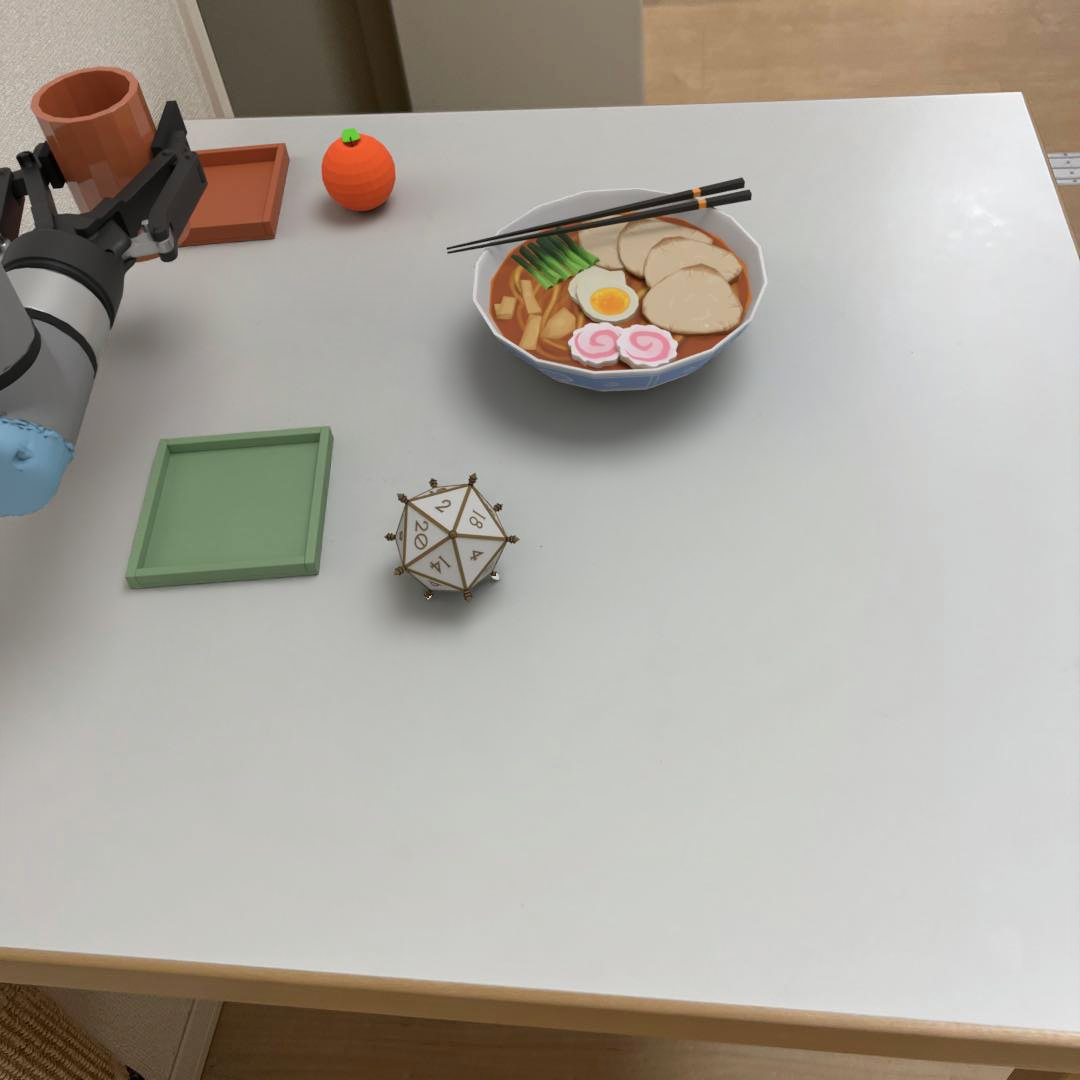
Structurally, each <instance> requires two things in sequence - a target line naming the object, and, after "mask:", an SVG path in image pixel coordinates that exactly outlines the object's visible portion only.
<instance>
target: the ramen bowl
mask: <svg viewBox="0 0 1080 1080" xmlns="http://www.w3.org/2000/svg"><path fill="white" fill-rule="evenodd" d="M745 186H746V180H745V179H744V178H743V177H742V176H741V177H738V178H737V177H736V178H733V179H729V180H725V181H721V182H716V183H714V184H709V185H704V186H700V187H697V188H695V189H694V188H691V189H688V190H683V191H678V192H669V191H663V190H658V189H651V188H645V187H641V186H636V187H622V188H621V187H619V188H603V189H587V190H582V191H577V192H575V193H573V194H569V195H566V196H563V197H560V198H559V197H558V198H556V199H553V200H549V201H547V202H544V203H541V204H538V205H535V206H534V207H532V208H530V209H529V210H527V211H526V212H524V213H523V214H521V215H520V216H518V217H517V218H515V219H513V220H512V221H510V222H509V223H507V224H506V225H504V226H502V227H501V228H500V229H497V231H496V232H495V234H494V235H493V236H490V237H485V238H482V239H477V240H472V241H468V242H464V243H461V244H456V245H452V246H447V247H446V250H447V253H446V254H447V255H449V254H450V255H451V254H456V253H460V252H467V251H473V250H478V249H483V248H485V249H484V250H483V251H482V252H481V255H480V256H479V258H478V259H477V260H476V262H475V264H474V275H473V289H472V301H473V303H474V304H475V306H476V308H477V309H478V311H479V313H480V314H481V316H482V317H483V320H484V321H485V323H486V324H487V326H488V327H489V330H490V331H491V332H492V334H493V335H494V336H495V338H496V339H497V340H498V341H499V342H500V343H501V345H502V346H503V347H504V348H505V349H507V350H508V351H509V352H511V353H512V354H513V355H515V356H516V357H517V358H519V359H520V360H522V361H523V362H525V363H527V364H528V365H530V366H531V367H533V368H534V369H536V370H538V371H539V372H541V373H543V374H544V375H546V376H547V377H548V378H550V379H552V380H554V381H556V382H558V383H562V384H566V385H570V386H575V387H579V388H584V389H588V390H593V391H596V392H602V393H603V392H604V393H605V392H606V393H607V392H623V391H624V392H625V391H626V392H627V391H643V390H645V391H646V390H647V391H648V390H650V389H652V388H656V387H658V386H661V385H664V384H667V383H669V382H672V381H675V380H678V379H680V378H683V377H686V376H689V375H690V374H692V373H695V372H696V371H698V370H700V368H701V367H703V366H704V365H706V363H708V362H709V361H710V360H711V359H713V358H714V357H715V356H716V355H717V354H719V353H721V351H723V350H724V349H725V348H727V347H728V346H729V345H731V343H733V342H734V341H735V340H736V339H737V338H738V337H739V336H741V335H742V334H743V333H744V331H745V330H747V327H748V326H749V325H750V324H751V323H752V321H753V320H754V318H755V315H756V313H757V310H758V308H759V306H760V304H761V302H762V299H763V296H764V293H765V292H766V289H767V286H768V284H769V279H768V274H767V270H766V264H765V259H764V254H763V250H762V246H761V244H759V242H758V241H757V240H756V239H755V238H754V237H753V236H752V235H751V234H750V233H749V232H748V231H747V229H745V228H744V226H743V225H742V224H741V223H739V221H738V220H737V219H736V218H735V217H734V216H733V215H731V214H729V213H727V212H725V211H722V210H720V209H718V208H717V207H721V206H727V205H732V204H737V203H742V202H749V201H752V197H753V196H752V195H753V193H752V192H751V190H750V189H745V188H746V187H745ZM741 189H744V190H741ZM736 190H737V191H736ZM738 190H740V191H738ZM731 191H735V192H731ZM727 192H730V193H727ZM722 193H724V194H722ZM716 194H719V195H716ZM712 195H716V196H712ZM707 196H711V197H707ZM703 197H706V198H703ZM698 198H703V199H698ZM486 242H487V243H486ZM482 243H483V244H482ZM462 247H463V248H462ZM448 250H450V251H448Z"/></svg>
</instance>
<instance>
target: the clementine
mask: <svg viewBox="0 0 1080 1080" xmlns="http://www.w3.org/2000/svg"><path fill="white" fill-rule="evenodd" d="M320 168H321V180H322V183H323V185H324V187H325V190H326V191H327V193H328V195H329V196H330V197H331V199H332V200H333V201H335V202H336V203H337V204H338V205H340V206H342V207H343V208H344V209H347V210H350V211H356V212H367V211H370V210H373V209H375V208H377V207H379V206H381V205H382V204H383V203H385V202H386V201H387V200H388V198H389V197H390V195H391V194H392V192H393V191H394V186H395V183H396V176H397V175H396V165H395V161H394V159H393V156H392V155H391V152H389V150H388V148H387V147H386V146H385V144H384V143H382V142H381V141H379V140H378V139H376V138H375V137H374V136H371V135H368V134H364V133H358V131H357V130H356V128H354V127H350V128H346V129H343V130H342V132H341V136H340V137H338V138H337V139H336V140H334V141H333V142H331V144H329V146H328V148H327V150H326V151H325V153H324V154H323V156H322V161H321V167H320Z"/></svg>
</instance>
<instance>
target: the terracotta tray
mask: <svg viewBox="0 0 1080 1080" xmlns="http://www.w3.org/2000/svg"><path fill="white" fill-rule="evenodd" d="M193 151H194V152H197V154H198V156H199V159H200V162H201V164H202V167H203V170H204V173H205V176H206V179H207V182H208V185H207V187H206V189H205V191H204V193H203V195H202V197H201V198H200V200H199V202H198V204H197V206H196V208H195V210H194V211H193V213H192V215H191V217H190V222H191V227H190V232H189V234H188V236H187V237H186V239H185V240H184V241H183V242H182V243H181V244H180V245H179V246H178V248H179V247H188V246H190V247H191V246H200V245H213V244H224V243H236V242H249V241H258V240H269V239H276V234H277V227H278V223H279V219H280V218H279V217H280V213H281V207H282V201H283V197H284V191H285V186H286V181H287V176H288V171H289V166H290V160H291V158H290V156H289V152H288V149H287V144H286V143H285V142H279V143H278V142H277V143H266V144H265V143H264V144H253V145H243V146H232V147H221V148H210V149H209V148H208V149H198V150H193Z"/></svg>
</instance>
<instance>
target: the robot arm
mask: <svg viewBox="0 0 1080 1080" xmlns="http://www.w3.org/2000/svg"><path fill="white" fill-rule="evenodd" d="M163 107H164V108H163V109H162V113H161V116H160V120H159V121H158V125H157V127H156V133H155V136H154V139H153V142H152V145H151V150H152V153H153V155H154V158H153V159H152V160H151V161H150V162H149V163H148V164H147V165H146V166H145V167H144V168H143V169H142V170H141V171H140V172H139V173H138V174H137V175H136V176H135V177H134V178H133V179H132V180H131V181H130V182H129V183H128V184H127V185H126V186H125V187H124V188H123V189H122V190H121V191H120V192H119V193H118V194H117V195H116V196H115V197H114V198H110V197H105V198H104V199H103V200H102V201H101V202H100V203H99V204H98V205H97V206H96V207H94V208H93V209H92V210H91V211H90V212H86V213H81V214H80V213H69V212H65V213H59V212H58V209H57V207H56V204H55V203H56V202H55V200H54V196H53V193H52V190H59V189H64V186H65V185H66V183H65V180H64V178H63V176H62V174H61V172H60V170H59V168H58V166H57V164H56V161H55V159H54V157H53V155H52V153H51V151H50V149H49V147H48V144H47V142H46V140H45V139H44V142H39V143H38V144H36V145H35V147H34V149H33V151H30V150H24V151H21V152H19V153H17V154H16V156H15V160H16V162H17V163H18V165H19V167H20V169H17V170H13V171H12V169H11V168H10V167H8V166H4V167H0V518H4V517H9V516H11V517H22V516H26V515H30V514H33V513H36V512H38V511H39V510H42V509H43V508H45V507H46V506H47V505H48V504H49V503H50V502H51V501H52V500H53V498H55V496H56V495H57V492H58V489H59V487H60V485H61V483H62V479H63V477H64V475H65V473H66V470H67V468H68V465H69V464H71V463H72V461H73V459H74V457H75V448H76V446H77V445H76V444H77V442H78V439H79V435H80V433H81V429H82V425H83V422H84V419H85V416H86V412H87V408H88V405H89V403H90V402H89V401H90V398H91V396H92V395H91V394H92V392H93V387H94V385H95V379H96V378H97V375H98V371H99V368H100V365H101V362H102V359H103V357H104V353H105V349H106V347H107V343H108V339H109V336H110V333H111V331H112V329H113V326H114V323H115V320H116V319H117V315H118V312H119V308H120V305H121V303H122V299H123V294H124V288H125V276H126V274H127V272H128V271H129V270H130V269H131V268H133V266H134V265H136V261H137V257H142V256H147V255H152V254H157V253H158V254H159V257H158V258H159V259H160V261H161V262H162V263H171V262H174V261H176V260H177V258H178V255H179V251H178V249H179V247H178V244H177V241H178V239H179V238H180V236H181V234H182V232H183V230H184V228H185V226H186V224H187V223H188V221H189V219H190V217H191V215H192V213H193V211H194V210H195V208H196V206H197V204H198V202H199V200H200V198H201V197H202V195H203V193H204V191H205V189H206V187H207V185H208V182H207V179H206V176H205V173H204V170H203V167H202V164H201V162H200V159H199V156H198V154H197V152H194V151H195V150H192V149H191V147H190V144H189V141H188V138H187V135H188V129H187V126H186V124H185V122H184V118H183V116H182V112H181V109H180V107H179V104H178V101H177V100H176V99H174V100H166V101H165V104H164V106H163ZM50 185H51V188H52V190H51V188H50ZM26 196H28V198H29V203H30V211H31V216H32V219H33V224H34V228H33V229H31V230H29V231H26V232H24V233H22V234H20V230H21V225H22V219H23V214H24V208H25V203H26ZM142 227H143V229H142V230H141V232H140V234H139V235H138V232H139V230H140V229H141V228H142Z"/></svg>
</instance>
